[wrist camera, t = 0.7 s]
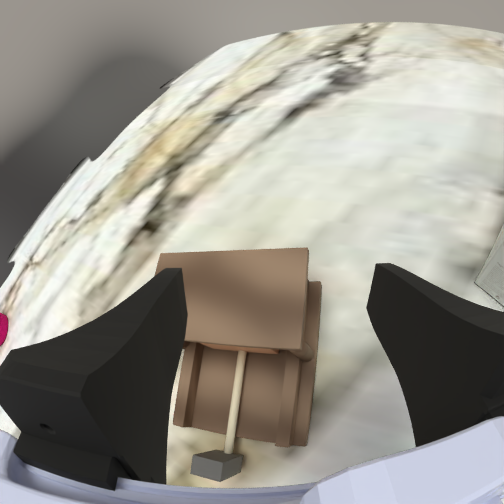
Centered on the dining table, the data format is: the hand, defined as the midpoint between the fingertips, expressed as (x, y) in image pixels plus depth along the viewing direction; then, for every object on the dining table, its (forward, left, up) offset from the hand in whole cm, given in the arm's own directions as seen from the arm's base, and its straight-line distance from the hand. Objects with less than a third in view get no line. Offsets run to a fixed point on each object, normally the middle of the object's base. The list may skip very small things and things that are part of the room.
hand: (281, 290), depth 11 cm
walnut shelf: (-1, +7, -16) cm, 17 cm away
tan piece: (-3, +7, -14) cm, 16 cm away
